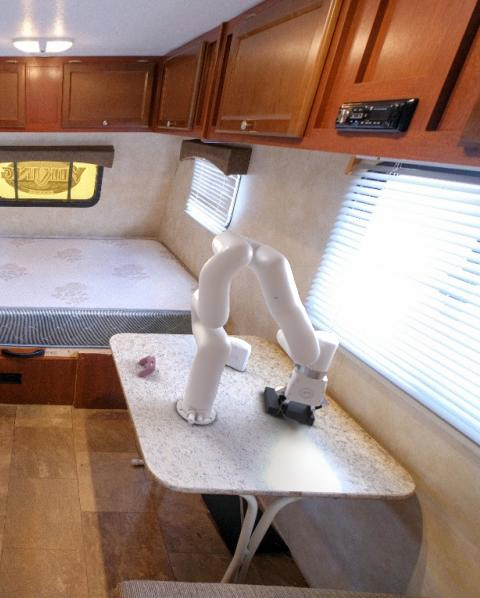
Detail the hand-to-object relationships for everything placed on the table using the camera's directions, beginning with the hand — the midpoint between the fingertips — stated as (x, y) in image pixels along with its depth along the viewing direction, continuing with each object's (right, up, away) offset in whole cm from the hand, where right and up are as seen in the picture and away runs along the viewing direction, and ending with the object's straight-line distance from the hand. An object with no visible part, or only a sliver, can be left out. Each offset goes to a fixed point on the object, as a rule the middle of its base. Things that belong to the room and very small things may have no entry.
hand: (294, 414), depth 118 cm
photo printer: (-7, +10, +31) cm, 34 cm away
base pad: (+2, 0, +8) cm, 9 cm away
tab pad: (+1, +1, +3) cm, 3 cm away
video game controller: (-44, +10, +23) cm, 51 cm away
